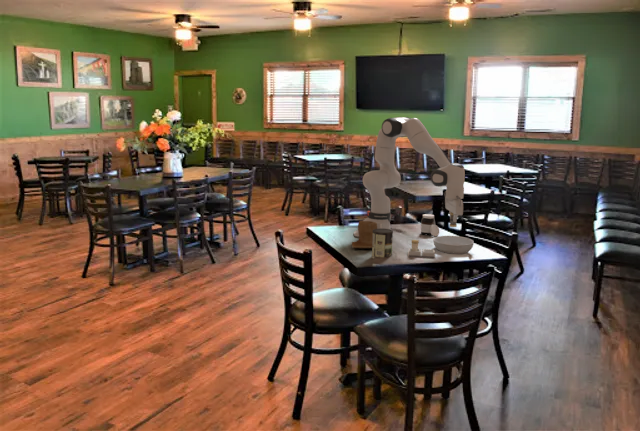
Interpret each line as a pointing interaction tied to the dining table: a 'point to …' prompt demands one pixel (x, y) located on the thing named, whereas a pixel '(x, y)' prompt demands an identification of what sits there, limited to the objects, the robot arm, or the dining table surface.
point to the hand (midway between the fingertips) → (453, 220)
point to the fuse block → (425, 253)
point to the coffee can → (382, 243)
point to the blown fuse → (452, 224)
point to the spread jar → (429, 225)
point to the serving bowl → (453, 244)
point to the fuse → (415, 245)
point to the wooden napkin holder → (365, 235)
